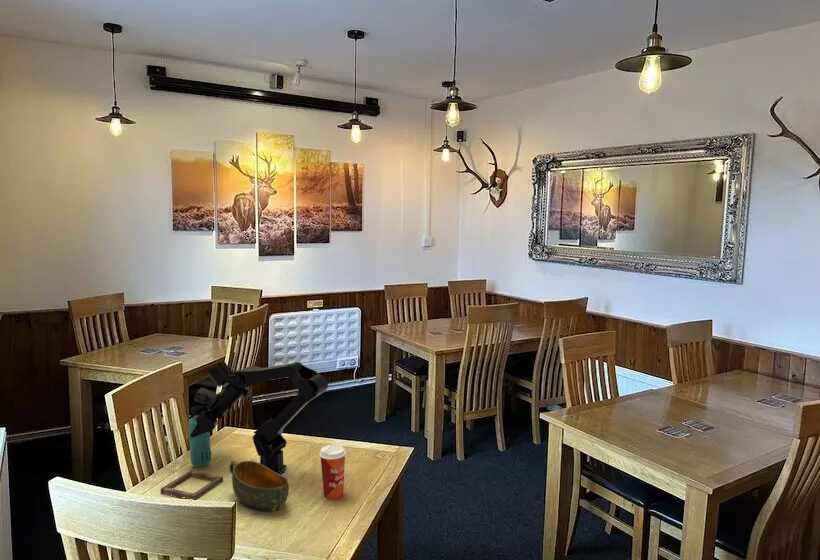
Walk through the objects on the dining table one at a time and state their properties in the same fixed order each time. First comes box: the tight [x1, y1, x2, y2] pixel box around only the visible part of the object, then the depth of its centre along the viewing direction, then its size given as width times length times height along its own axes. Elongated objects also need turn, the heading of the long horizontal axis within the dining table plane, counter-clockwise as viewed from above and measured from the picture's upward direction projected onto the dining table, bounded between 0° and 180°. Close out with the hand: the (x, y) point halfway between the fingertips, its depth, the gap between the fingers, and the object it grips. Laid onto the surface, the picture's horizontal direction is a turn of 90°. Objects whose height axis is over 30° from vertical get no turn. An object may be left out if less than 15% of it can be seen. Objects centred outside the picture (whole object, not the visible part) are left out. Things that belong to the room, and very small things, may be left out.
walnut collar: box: [160, 469, 224, 501], centre depth 166 cm, size 12×12×2 cm
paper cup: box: [319, 444, 347, 501], centre depth 161 cm, size 8×8×14 cm
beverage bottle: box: [187, 405, 212, 467], centre depth 179 cm, size 6×7×20 cm
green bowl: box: [229, 460, 290, 513], centre depth 157 cm, size 13×20×10 cm, turn 32°
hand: (195, 431), depth 179 cm, fingers open, 9 cm apart
